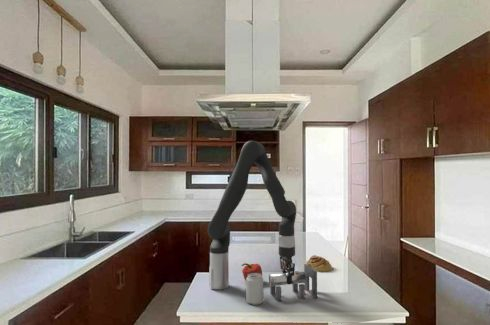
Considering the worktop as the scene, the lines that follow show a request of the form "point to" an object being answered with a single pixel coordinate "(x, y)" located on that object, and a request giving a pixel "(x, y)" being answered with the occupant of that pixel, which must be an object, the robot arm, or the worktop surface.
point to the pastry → (319, 264)
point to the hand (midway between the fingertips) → (287, 281)
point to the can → (254, 288)
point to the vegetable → (251, 269)
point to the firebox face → (313, 274)
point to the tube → (282, 278)
